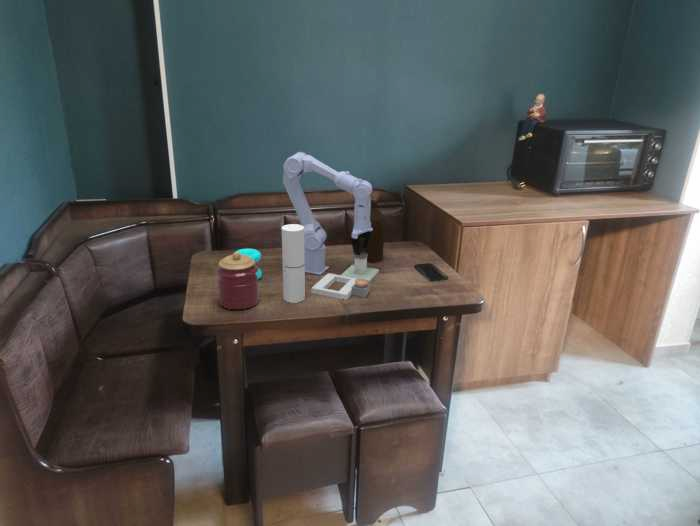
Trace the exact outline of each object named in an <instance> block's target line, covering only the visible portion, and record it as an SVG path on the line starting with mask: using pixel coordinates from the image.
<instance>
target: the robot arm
mask: <svg viewBox="0 0 700 526" xmlns="http://www.w3.org/2000/svg"><path fill="white" fill-rule="evenodd" d="M282 169H283V173H282V175H283V176H282V183H283V186H284V188H285V189H286V190H285V191H286V193H287V195H288V196H289V199H290V202H291V203H292V205H293V208H294V210H295V213H296V215H297V217H298V219H299V222H300V225H302V226H304V258H305V263H304V264H305V273H307V274H314V275H318V276H320V275H321V276H322V274H324V273H325V272H326V271H328V269H330V266H327V265H326V245H325V242H326V240H327V237H328V236H327V235H328V234H327V231H326V230H325V229H324V228H323V227H322V226H321V223H320V222H318V221H317V220H316V218H315V216H314V213H313V212H312V209H311V207H310V205H309V202H308V200H307V197H306V195H305V193H304V190H303V189H302V187H301V184H300V181H299V180H300V179H301V177H302V175H303V173H304V174H305V173H310V172H314V173H316V174H319V175H321V176H324V177H325V178H328V180H331V181H333V182H334V184H335V187H338V188H340V189H341V190H343V191H344V192H347V193H349V194H351V195H353V197H354V212H353V227H352V232H351V234H350V235H348V240H349V241H350V244H351V246H352V250H353V255H360V254H361V249H362V248H368V245H369V241H370V238H371V235H372V233H373V232H374V229H373V228H370V227H371V222H370V210H371V203H370V201H371V197H372V196H371V195H372V192H373V186H372V183H370V182H369V181H368V180H365V179H364V180H363V179H362V178H358V177H356V176H353V175H352V174H351V173H350V171H348V170H347V171H344V170H343V171H337V170H335V169H334V168H331V167H330V166H329V165H328V164H325V163H323V162H322V161H320V160H319V159H316V158H315V157H314V156H312V155H310V154H307V153H305V152H304V151H298V152H296V153H294V154H293V155H292V156H289V157H287V159H286V160H285V162H284V164H283V165H282Z"/></svg>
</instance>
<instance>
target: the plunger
mask: <svg viewBox="0 0 700 526" xmlns="http://www.w3.org/2000/svg"><path fill="white" fill-rule="evenodd" d="M368 284H369V283H368V281H367V280H366V279H356V280H355V285H356V286H355V287H359V288H365V287H366V286H367V285H368Z"/></svg>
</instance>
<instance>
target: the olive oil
mask: <svg viewBox="0 0 700 526" xmlns="http://www.w3.org/2000/svg"><path fill="white" fill-rule="evenodd" d="M370 203H371V210H370V222H371V227H370V228H373V229H374V232H373V233H372V235H371V238H370V241H369V245H368V248H362V249H361V252H365V253H367V254H368V256H367V263H368V262H370V263H369V264H374V263H380V262H381V261H383V258H384V245H385V236H386V227H387V220H386V217H385V215H384V214H383V212H381V210H380V209H379V208H378V203H379V202H378V197H374V196H373V197H372V196H371V201H370Z"/></svg>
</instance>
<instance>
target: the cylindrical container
mask: <svg viewBox="0 0 700 526" xmlns="http://www.w3.org/2000/svg"><path fill="white" fill-rule="evenodd" d="M281 245H282V246H281V251H282V252H281V253H282V256H281V257H282V287H283V301H284V300H285V301H284V302H286V301H287V302H286V303H288V302H290V303H289V304H297V303H298V302H299V303H302V302H304V301H305V299H306V287H305V286H306V283H305V281H306V277H305V276H306V275H305V274H306V272H305V264H304V263H305V258H304V246H305V244H304V226H302V224H296V223H290V224H284V225H282V226H281ZM303 300H304V301H303ZM301 301H302V302H301Z"/></svg>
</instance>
